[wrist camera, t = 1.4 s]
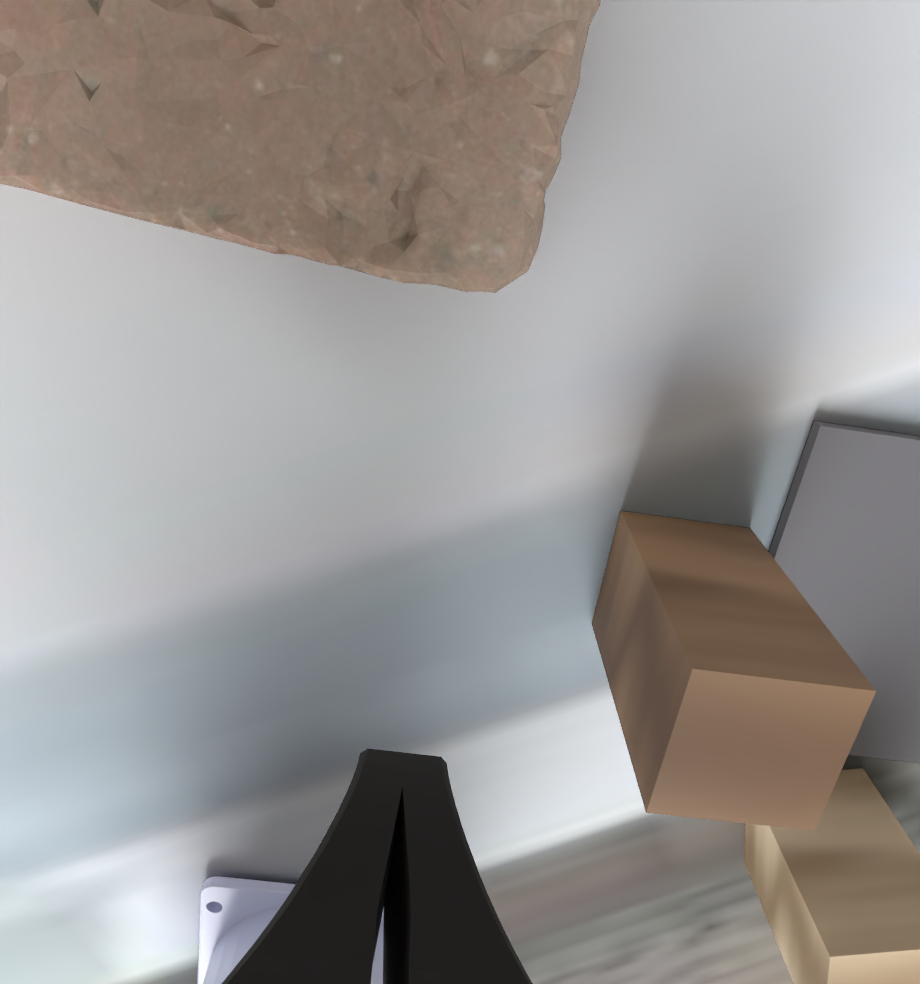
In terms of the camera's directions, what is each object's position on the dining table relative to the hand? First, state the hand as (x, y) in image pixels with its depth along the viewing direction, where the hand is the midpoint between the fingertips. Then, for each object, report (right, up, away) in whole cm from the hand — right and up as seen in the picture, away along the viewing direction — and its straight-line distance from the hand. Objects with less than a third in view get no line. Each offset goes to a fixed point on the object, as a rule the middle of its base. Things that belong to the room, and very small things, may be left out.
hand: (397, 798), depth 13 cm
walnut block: (+7, +3, +9) cm, 12 cm away
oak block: (+12, -5, +13) cm, 18 cm away
